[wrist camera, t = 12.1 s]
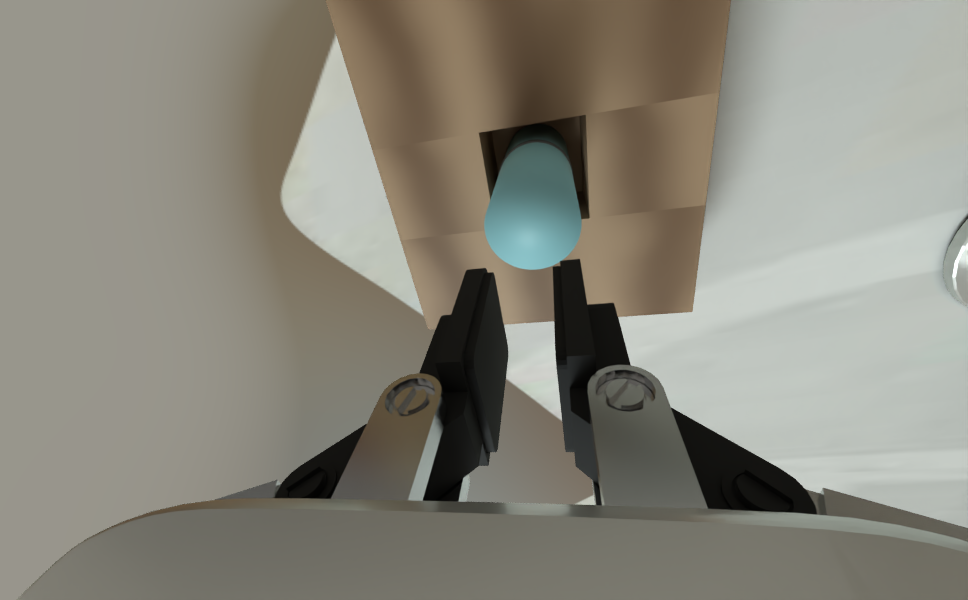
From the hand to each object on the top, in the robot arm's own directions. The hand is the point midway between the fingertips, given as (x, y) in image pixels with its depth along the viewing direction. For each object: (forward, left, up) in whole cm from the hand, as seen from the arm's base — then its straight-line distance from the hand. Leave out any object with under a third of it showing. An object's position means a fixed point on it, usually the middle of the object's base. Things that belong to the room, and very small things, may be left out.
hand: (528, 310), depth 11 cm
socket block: (0, 0, -19) cm, 19 cm away
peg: (0, 0, -18) cm, 18 cm away
